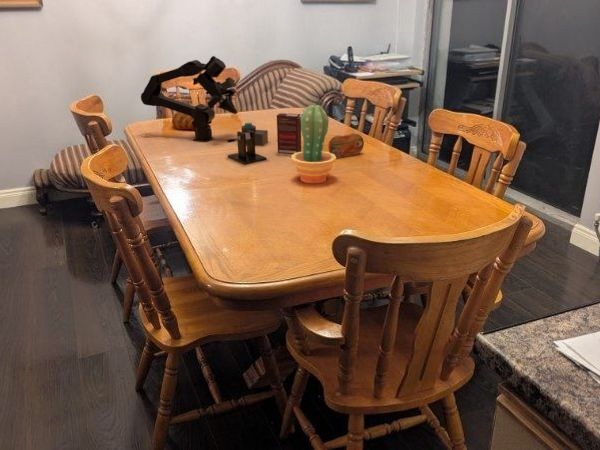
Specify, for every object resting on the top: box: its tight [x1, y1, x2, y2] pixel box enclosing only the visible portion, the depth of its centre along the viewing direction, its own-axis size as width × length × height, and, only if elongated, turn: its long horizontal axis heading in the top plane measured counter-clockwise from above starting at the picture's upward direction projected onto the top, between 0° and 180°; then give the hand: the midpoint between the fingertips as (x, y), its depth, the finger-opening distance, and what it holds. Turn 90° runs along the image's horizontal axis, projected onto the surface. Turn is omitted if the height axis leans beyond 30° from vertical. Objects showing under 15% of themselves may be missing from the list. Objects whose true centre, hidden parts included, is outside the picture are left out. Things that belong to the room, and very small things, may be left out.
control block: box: [240, 124, 269, 147], centre depth 222 cm, size 10×7×7 cm
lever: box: [226, 132, 251, 143], centre depth 202 cm, size 11×6×2 cm, turn 39°
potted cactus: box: [290, 104, 337, 184], centre depth 176 cm, size 15×15×25 cm
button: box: [244, 122, 253, 128], centre depth 221 cm, size 3×3×2 cm
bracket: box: [227, 130, 268, 166], centre depth 200 cm, size 12×10×11 cm
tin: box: [327, 132, 365, 159], centre depth 205 cm, size 15×3×8 cm, turn 117°
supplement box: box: [276, 112, 302, 157], centre depth 205 cm, size 9×5×16 cm, turn 71°
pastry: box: [171, 111, 195, 130], centre depth 249 cm, size 21×13×8 cm, turn 33°
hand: (236, 113), depth 221 cm, fingers closed
